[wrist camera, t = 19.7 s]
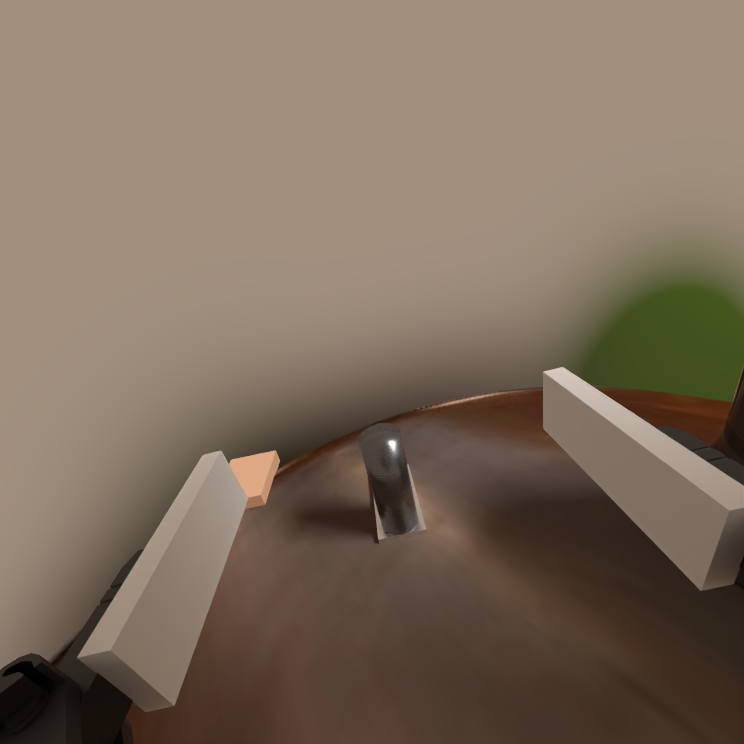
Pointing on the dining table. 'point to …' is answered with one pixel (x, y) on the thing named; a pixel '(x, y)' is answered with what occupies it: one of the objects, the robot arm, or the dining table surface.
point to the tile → (256, 476)
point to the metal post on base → (391, 483)
